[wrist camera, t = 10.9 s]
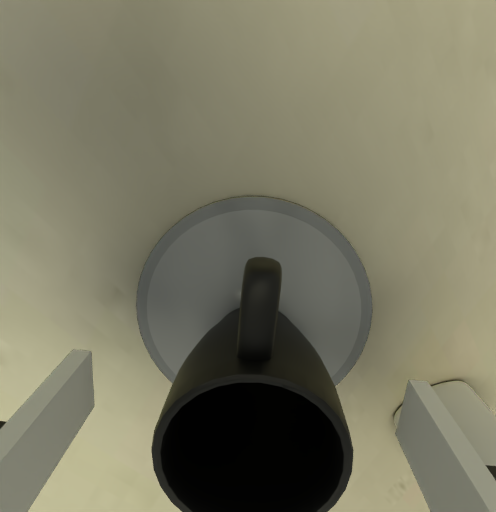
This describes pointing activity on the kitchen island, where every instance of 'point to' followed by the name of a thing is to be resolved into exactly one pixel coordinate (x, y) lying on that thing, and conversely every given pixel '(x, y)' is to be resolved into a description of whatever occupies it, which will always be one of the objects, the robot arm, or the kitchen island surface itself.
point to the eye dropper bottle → (468, 417)
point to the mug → (253, 415)
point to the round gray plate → (231, 277)
